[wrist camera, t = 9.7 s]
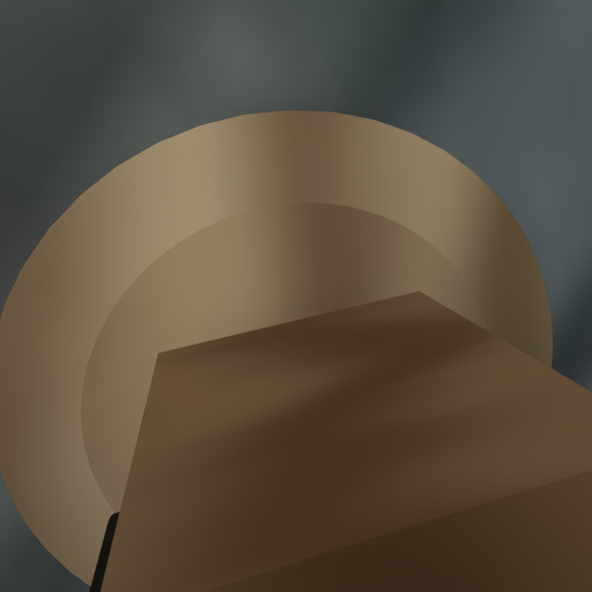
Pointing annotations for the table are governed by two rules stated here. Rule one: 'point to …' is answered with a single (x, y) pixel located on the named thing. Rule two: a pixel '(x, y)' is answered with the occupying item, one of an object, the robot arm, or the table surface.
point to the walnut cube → (358, 462)
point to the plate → (230, 284)
